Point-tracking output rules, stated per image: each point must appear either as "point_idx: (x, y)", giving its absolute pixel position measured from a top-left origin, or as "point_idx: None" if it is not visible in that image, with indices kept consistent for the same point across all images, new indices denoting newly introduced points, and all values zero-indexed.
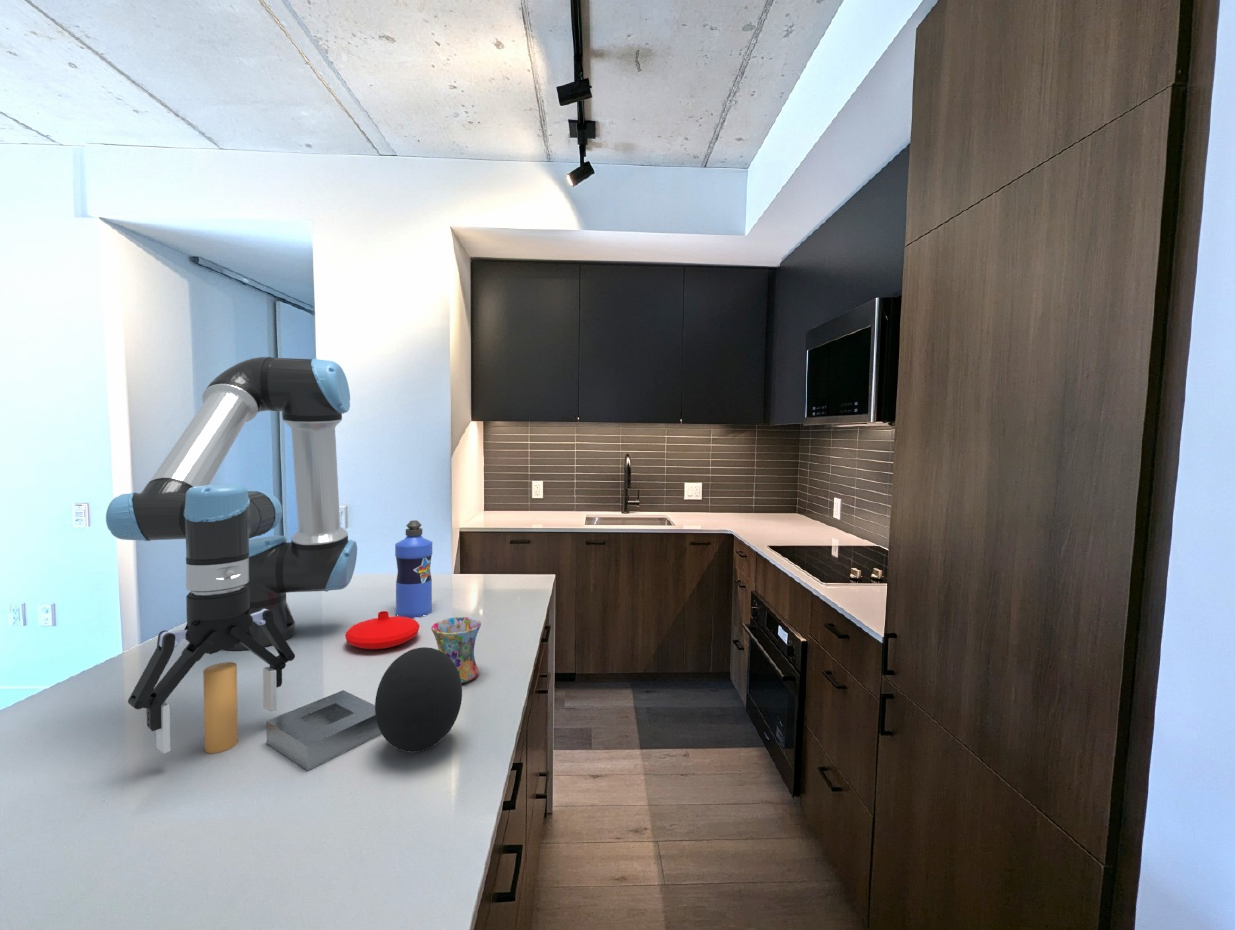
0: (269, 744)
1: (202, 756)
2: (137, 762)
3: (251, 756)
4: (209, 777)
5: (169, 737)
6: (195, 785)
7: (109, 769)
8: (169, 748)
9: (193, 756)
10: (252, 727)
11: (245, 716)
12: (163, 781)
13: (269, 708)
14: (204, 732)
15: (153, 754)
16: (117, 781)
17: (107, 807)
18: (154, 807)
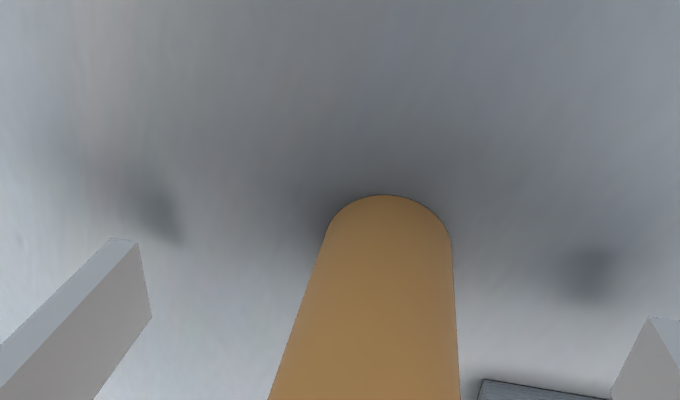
0: (479, 398)
1: (303, 260)
2: (110, 65)
3: None
4: (266, 382)
5: (111, 369)
6: (226, 382)
7: (13, 15)
8: (141, 328)
9: (281, 230)
10: (563, 224)
11: (662, 61)
12: (165, 291)
13: (622, 388)
14: (307, 285)
15: (173, 52)
16: (46, 155)
17: (29, 279)
18: (127, 377)
